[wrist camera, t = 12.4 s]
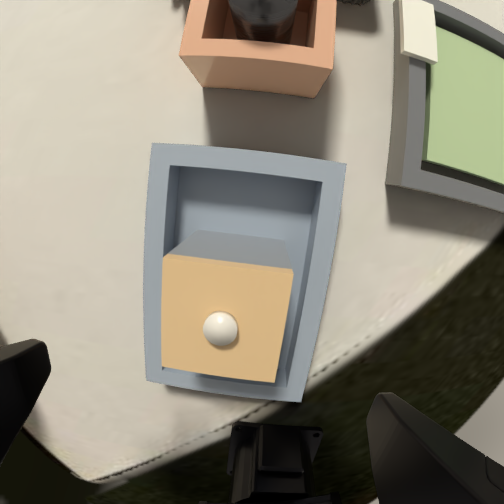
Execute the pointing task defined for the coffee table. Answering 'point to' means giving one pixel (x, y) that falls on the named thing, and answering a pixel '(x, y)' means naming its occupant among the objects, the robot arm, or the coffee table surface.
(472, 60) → the light green square plate
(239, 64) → the cup
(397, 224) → the coffee table surface
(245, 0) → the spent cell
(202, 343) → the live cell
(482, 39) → the checker frame
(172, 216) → the tray
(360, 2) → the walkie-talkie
